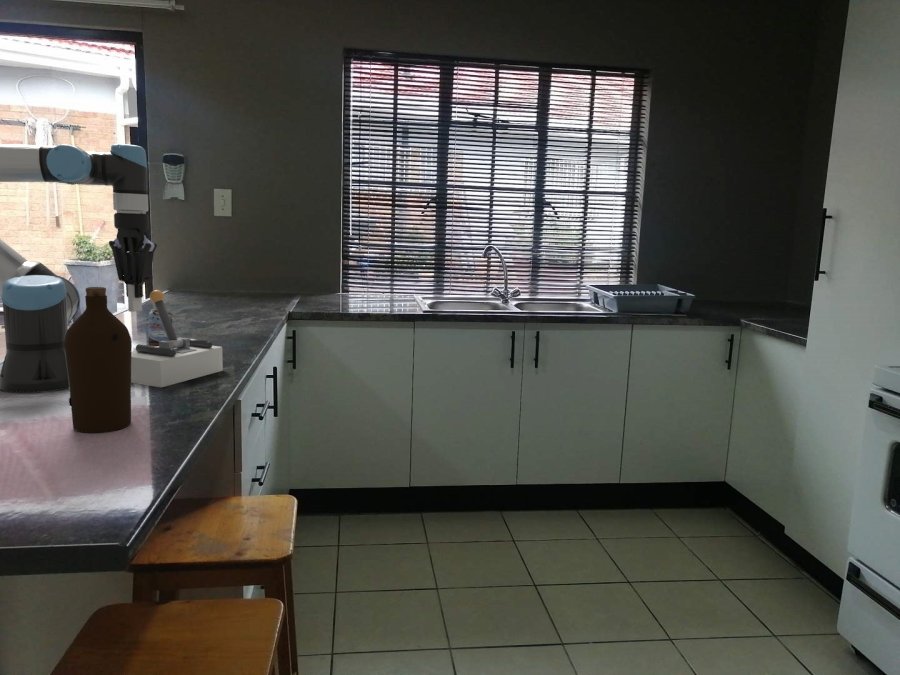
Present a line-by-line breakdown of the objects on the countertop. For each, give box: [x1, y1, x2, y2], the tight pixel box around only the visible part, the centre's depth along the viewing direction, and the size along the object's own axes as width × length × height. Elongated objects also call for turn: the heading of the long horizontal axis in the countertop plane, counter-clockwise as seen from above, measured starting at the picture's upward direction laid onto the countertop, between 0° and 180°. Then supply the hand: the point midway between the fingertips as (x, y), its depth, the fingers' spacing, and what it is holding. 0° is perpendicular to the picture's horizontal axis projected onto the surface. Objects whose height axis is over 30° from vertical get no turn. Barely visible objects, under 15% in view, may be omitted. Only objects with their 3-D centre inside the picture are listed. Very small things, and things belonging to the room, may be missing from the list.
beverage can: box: [147, 308, 173, 347], centre depth 188 cm, size 6×7×12 cm
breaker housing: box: [131, 336, 224, 388], centre depth 161 cm, size 20×13×8 cm, turn 158°
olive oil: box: [64, 286, 133, 434], centre depth 121 cm, size 11×11×25 cm
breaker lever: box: [149, 289, 183, 348], centre depth 162 cm, size 4×3×15 cm
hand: (135, 310), depth 165 cm, fingers closed
